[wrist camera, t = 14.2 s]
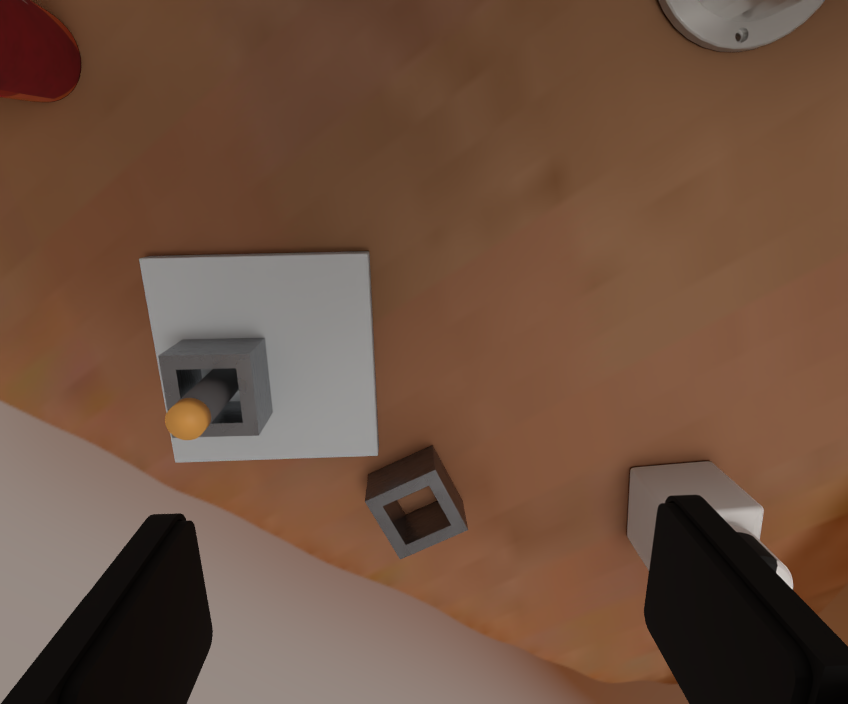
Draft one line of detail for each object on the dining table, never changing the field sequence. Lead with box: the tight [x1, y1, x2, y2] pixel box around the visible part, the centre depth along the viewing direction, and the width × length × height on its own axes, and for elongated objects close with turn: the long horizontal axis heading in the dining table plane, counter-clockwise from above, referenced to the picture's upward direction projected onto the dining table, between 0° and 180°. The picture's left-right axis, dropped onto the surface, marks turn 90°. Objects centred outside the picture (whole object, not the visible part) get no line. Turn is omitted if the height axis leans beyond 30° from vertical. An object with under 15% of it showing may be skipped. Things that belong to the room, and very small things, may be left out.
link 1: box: [158, 338, 273, 438], centre depth 37 cm, size 6×6×4 cm
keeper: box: [139, 251, 379, 462], centre depth 36 cm, size 16×16×10 cm
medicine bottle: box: [627, 461, 793, 590], centre depth 40 cm, size 7×7×12 cm
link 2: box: [365, 445, 468, 559], centre depth 43 cm, size 6×6×4 cm
